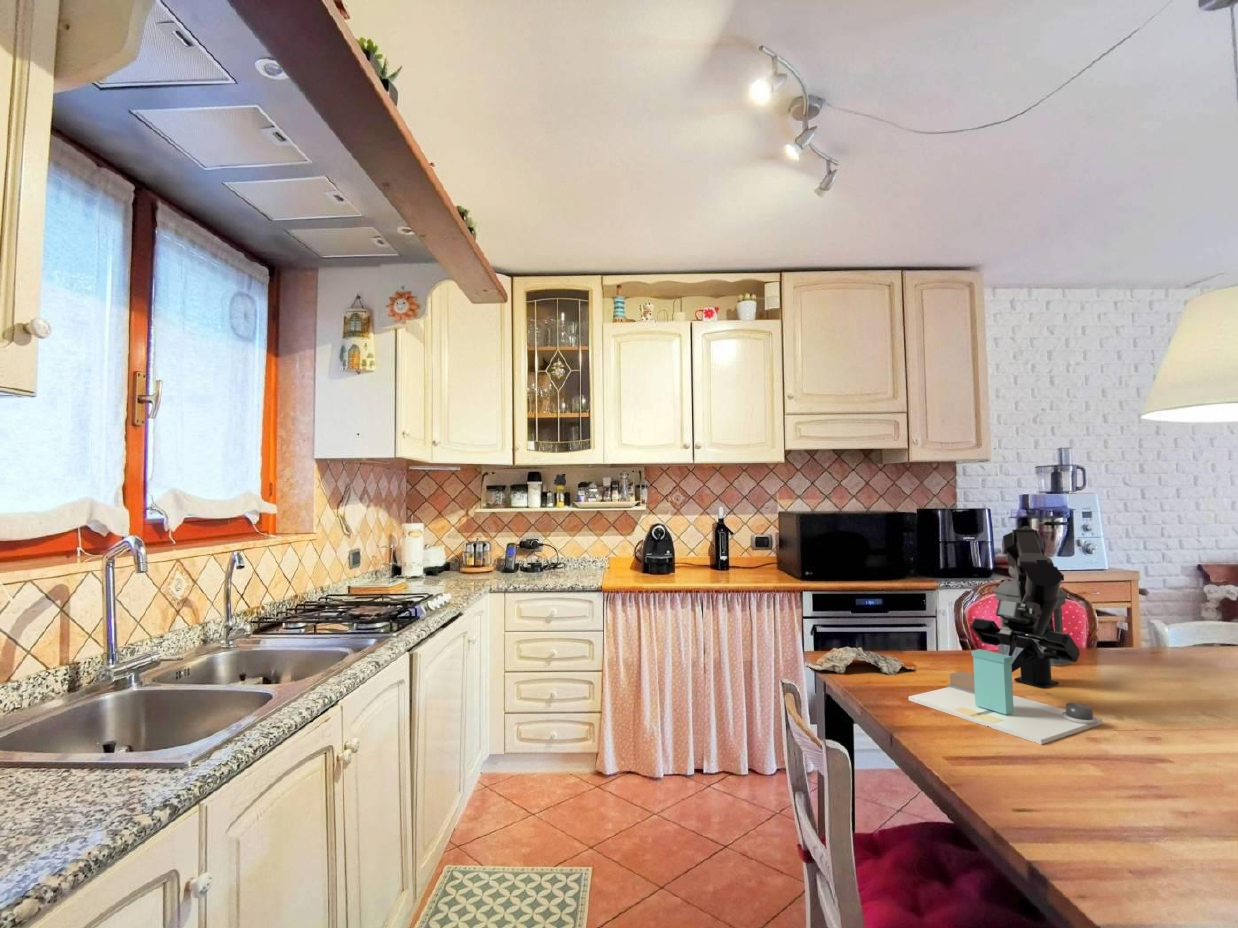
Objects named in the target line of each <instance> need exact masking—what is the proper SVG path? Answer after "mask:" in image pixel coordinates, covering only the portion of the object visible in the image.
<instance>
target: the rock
mask: <svg viewBox="0 0 1238 928" xmlns="http://www.w3.org/2000/svg"><path fill="white" fill-rule="evenodd" d="M853 660H858V661H865V662H866V663H871V665H874V666H875V668H878V669H880V671H881V672H882V673H884V674H887V675H888V676H896V675H898V672H899V671H900V669H903V670H904V669H905V670H915V667H906V666H905V665H904V663H903V662H902V660H899V659H898V658H896V657H894V656H890V655H882V654H880V653H877V652H874V651H866V650H863V648H862V647H857V648H856V647H849V646H845V647H840V648H836V647H833V648H832V649H831V650H829V651H828V652H826V653H825V654H824V655H822V656H821V657H820V658H818V659H817V660H816V661H815V664H817V665H815V664H813V663H811V662H810V663H808V664H807V665H805V668H811V669H814V670H817V671H823V670H825V671H826V670H827V671H831V672H832V671H834V672H836V673H837V674H838V675H840V676H841V675H842V676H845V675H846V674H845V673H846V668H847V666H849V665H850V664H851V663H853ZM831 675H832V676H833V674H831Z"/></svg>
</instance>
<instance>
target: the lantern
mask: <svg viewBox="0 0 1238 928" xmlns="http://www.w3.org/2000/svg"><path fill="white" fill-rule="evenodd" d="M1020 529H1032V528H1031V527H1030V526H1028V525H1024V526H1022V527H1021V528H1020ZM1046 545H1047V544H1046V541H1045V540H1044V539H1043V548H1044V551H1043V554H1042V555H1043V556H1045V553H1046V547H1047V546H1046ZM1008 574H1009V576H1011V577H1012V579H1014V580H1007V581H1004V582H1002V583H1000V584H999V585H998V586H997V587H994V589H993V590H992V591H993V592H994V593H995V599H996V600H997V601H999V600H1003V601H1010V602H1017V603H1020V602H1019V594H1018V587H1017V581H1016V579H1015V569H1014V568H1013V567H1011V566H1010V565H1009V567H1008ZM1067 597H1068V592H1065V591H1063V589H1062V588H1061V587H1060V589H1059V594H1058V598H1059V601H1058V603H1057V606H1056V608H1055V610H1054V612H1053V614H1052V616H1051V619H1052V623H1053V627H1054V631H1055V632H1061V633H1064V630H1063V613H1062V611H1063V610H1062V609H1063V607H1062V606H1063V605H1066V598H1067ZM1003 621H1004V619H1003V618H1002V617H1000V627H1006V628H1009V627H1008V626H1006V625H1005V624H1004V623H1003ZM996 653H999V654H1004V651H1003V645H1002V644H1000V645H998V650H997V652H996ZM1059 665H1067V666H1071V661H1067V660H1062V659H1059V660H1056V659H1051V666H1059ZM1059 667H1060V666H1059Z"/></svg>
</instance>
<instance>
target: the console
mask: <svg viewBox="0 0 1238 928" xmlns="http://www.w3.org/2000/svg"><path fill="white" fill-rule="evenodd" d="M949 678H950V680H949V681H950V683H948V684H946V686H947V687H944V688H938V689H934V690H931V691H927V692H922V693H918V694H913V695H909V696H908V701H910V702H913V703H916V704H919V705H922V706H925V707H928V708H930V709H933V710H937V711H939V712H942V713H945V714H948V715H952V716H955V717H957V718H961V719H962V720H963V719H964V720H967V721H969V722H972V723H976V724H978V725H981V726H984V727H987V726H989V727H988V728H990V727H991V728H990V729H994V730H997V731H999V732H1003V733H1006V734H1009V735H1011V736H1015V737H1017V738H1021V739H1024V740H1027V741H1030V742H1033V743H1035V742H1036V744H1039V745H1044V744H1046V743H1050V742H1053V741H1057V740H1059V739H1062V738H1064V737H1067V736H1070V735H1073V734H1076V733H1080V732H1083V731H1086V730H1088V729H1091V728H1094V727H1098V726H1099V725H1102V724H1103V721H1102V719H1101V718H1097V717H1096V716H1094V715H1093V707H1092V706H1089V705H1086V704H1082V703H1078V702H1066V703H1065V709H1064V708H1060V707H1057V706H1053V705H1050V704H1047V703H1042V702H1038V701H1035V700H1031V699H1028V698H1025V697H1021V696H1018V695H1017V696H1016V695H1014V694H1013V706H1014V712H1013V713H1010V714H1003V713H999V712H996V711H993V710H989V709H986V708H983V707H980V706H976V705H975V685H974V673H973V674H972V673H969V672H965V671H957V672H952V673H950V674H949Z"/></svg>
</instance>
